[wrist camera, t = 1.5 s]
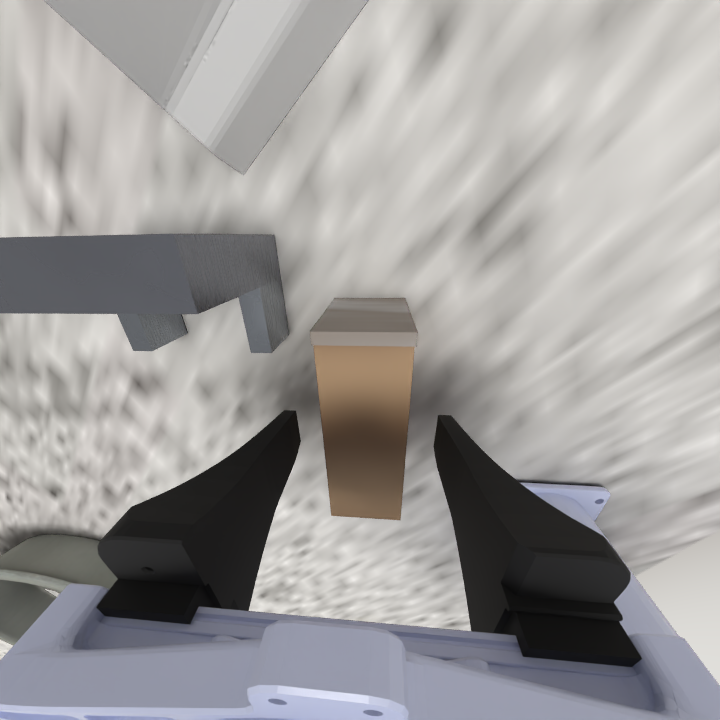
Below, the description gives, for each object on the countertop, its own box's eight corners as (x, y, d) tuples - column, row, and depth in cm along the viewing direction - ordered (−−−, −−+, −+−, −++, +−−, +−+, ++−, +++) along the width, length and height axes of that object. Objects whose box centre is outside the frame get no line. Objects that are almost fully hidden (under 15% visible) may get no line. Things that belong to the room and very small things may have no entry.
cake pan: (-51, 519, 27) (-128, 569, 23) (163, 524, 24) (119, 582, 20) (80, 625, 37) (43, 672, 33) (238, 636, 35) (219, 689, 31)
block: (396, 446, 17) (401, 522, 13) (343, 444, 18) (330, 517, 13) (405, 298, 13) (417, 332, 8) (334, 298, 13) (309, 331, 9)
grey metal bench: (288, 334, 14) (224, 402, 8) (171, 333, 15) (33, 397, 9) (274, 234, 12) (173, 233, 6) (136, 237, 13) (-75, 239, 7)
